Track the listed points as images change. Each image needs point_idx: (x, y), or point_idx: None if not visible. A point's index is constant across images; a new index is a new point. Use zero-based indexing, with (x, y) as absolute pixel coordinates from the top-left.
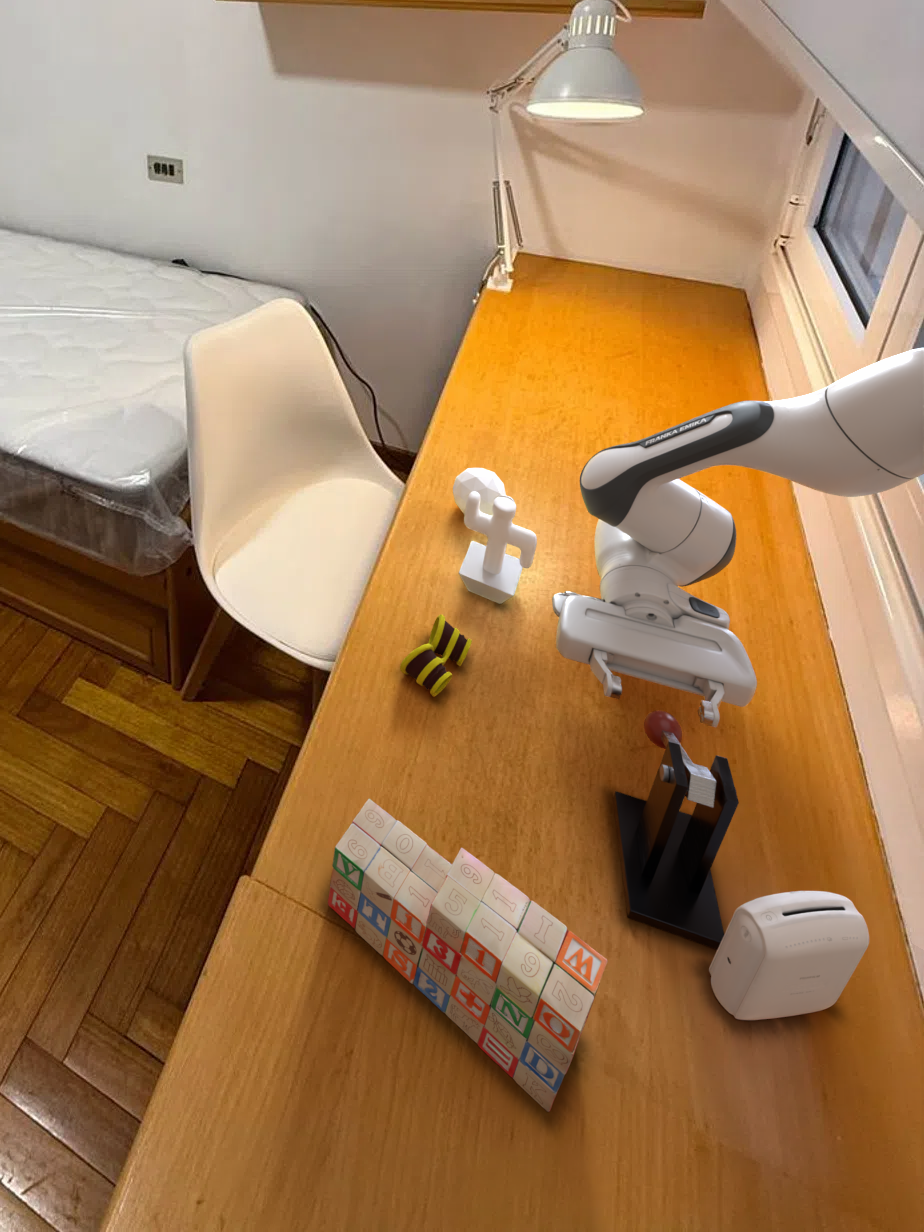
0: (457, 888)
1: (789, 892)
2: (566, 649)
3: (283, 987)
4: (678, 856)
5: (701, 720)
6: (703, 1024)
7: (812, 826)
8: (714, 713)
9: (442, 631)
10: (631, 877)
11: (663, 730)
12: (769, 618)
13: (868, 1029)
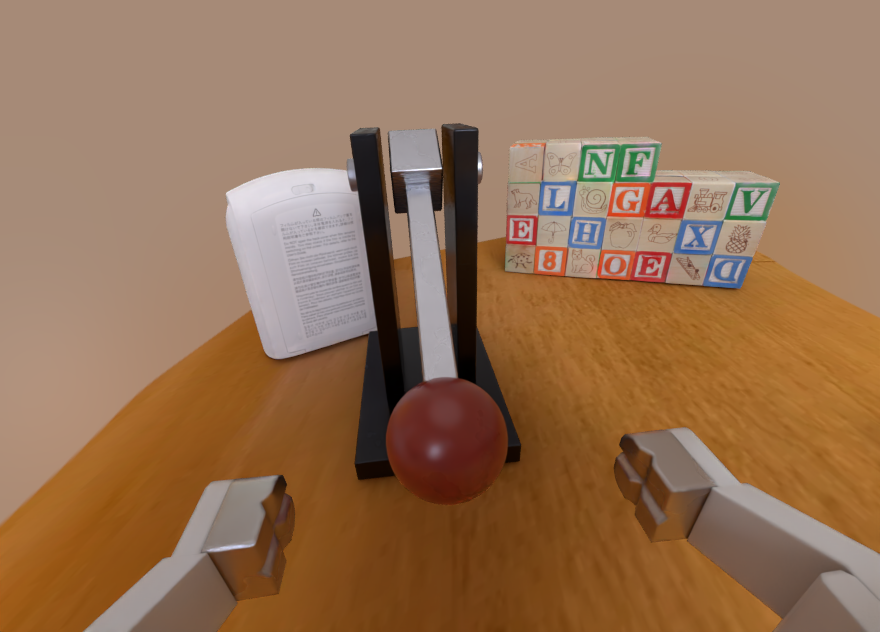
0: (639, 139)
1: (312, 190)
2: None
3: None
4: (410, 387)
5: (292, 507)
6: (406, 302)
7: (34, 613)
8: (228, 485)
9: None
10: (476, 344)
11: (454, 374)
12: None
13: (237, 342)
